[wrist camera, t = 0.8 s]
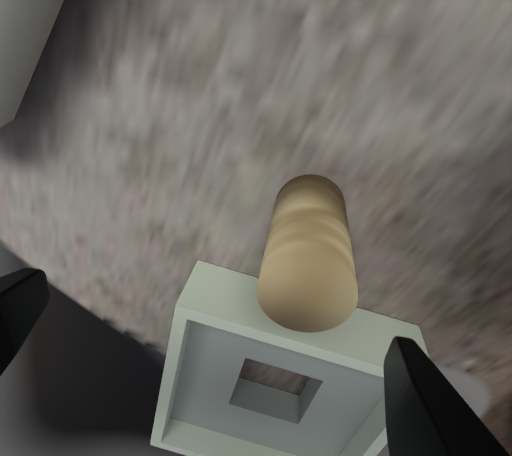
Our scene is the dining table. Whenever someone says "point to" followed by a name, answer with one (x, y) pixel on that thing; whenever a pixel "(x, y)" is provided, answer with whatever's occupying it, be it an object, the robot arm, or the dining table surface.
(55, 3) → the tube
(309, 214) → the peg
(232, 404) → the caddy
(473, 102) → the dining table surface
